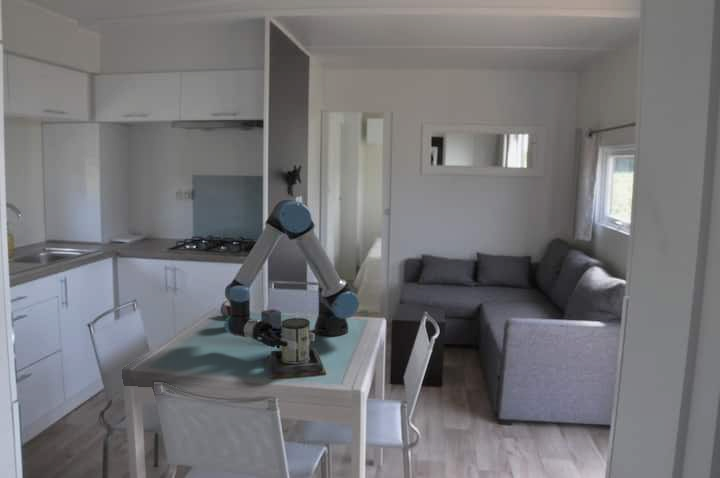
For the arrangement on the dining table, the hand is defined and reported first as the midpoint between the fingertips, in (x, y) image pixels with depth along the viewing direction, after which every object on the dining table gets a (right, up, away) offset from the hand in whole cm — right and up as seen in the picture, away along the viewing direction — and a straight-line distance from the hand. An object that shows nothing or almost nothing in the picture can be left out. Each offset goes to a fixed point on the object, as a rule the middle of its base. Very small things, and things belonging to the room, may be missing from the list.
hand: (305, 341), depth 189 cm
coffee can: (-4, -7, +3) cm, 9 cm away
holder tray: (-4, -10, +4) cm, 11 cm away
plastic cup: (-36, -4, +49) cm, 61 cm away
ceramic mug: (-42, -1, +67) cm, 79 cm away
